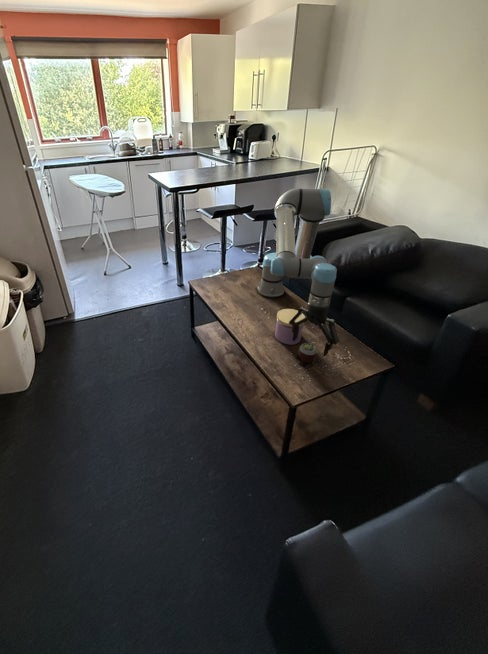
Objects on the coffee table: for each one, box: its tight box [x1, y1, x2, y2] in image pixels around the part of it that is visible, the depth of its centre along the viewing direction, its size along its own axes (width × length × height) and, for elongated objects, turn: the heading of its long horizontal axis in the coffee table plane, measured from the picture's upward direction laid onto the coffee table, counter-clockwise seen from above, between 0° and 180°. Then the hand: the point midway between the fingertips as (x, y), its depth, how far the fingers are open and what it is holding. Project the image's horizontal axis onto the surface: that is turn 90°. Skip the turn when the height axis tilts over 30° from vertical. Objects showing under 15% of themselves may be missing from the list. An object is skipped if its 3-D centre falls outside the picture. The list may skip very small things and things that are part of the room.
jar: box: [274, 308, 306, 345], centre depth 148 cm, size 13×13×12 cm
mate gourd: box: [297, 341, 317, 366], centre depth 132 cm, size 8×8×15 cm
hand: (309, 346), depth 131 cm, fingers open, 13 cm apart
